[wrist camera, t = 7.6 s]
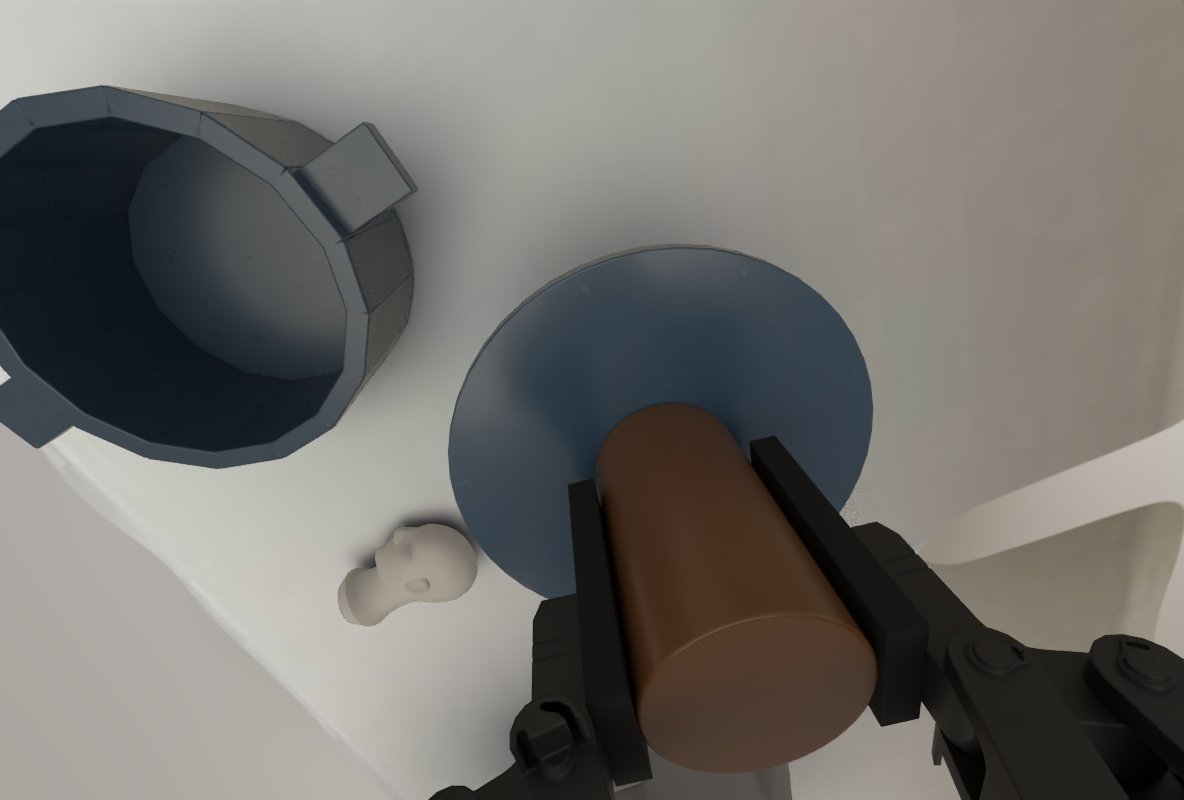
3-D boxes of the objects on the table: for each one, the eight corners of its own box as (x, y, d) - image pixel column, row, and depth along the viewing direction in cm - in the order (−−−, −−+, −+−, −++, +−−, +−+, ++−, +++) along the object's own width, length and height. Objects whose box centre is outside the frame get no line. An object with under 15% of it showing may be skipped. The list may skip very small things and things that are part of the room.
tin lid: (898, 489, 20) (1156, 736, 11) (588, 640, 22) (617, 940, 14) (767, 140, 14) (1100, 129, 6) (362, 392, 16) (172, 654, 8)
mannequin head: (464, 497, 32) (491, 570, 33) (344, 535, 32) (373, 606, 33) (447, 524, 28) (478, 607, 29) (308, 567, 28) (343, 648, 29)
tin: (511, 278, 25) (501, 324, 19) (235, 453, 28) (140, 547, 22) (325, 0, 20) (218, -76, 13) (7, 248, 23) (-215, 289, 16)
